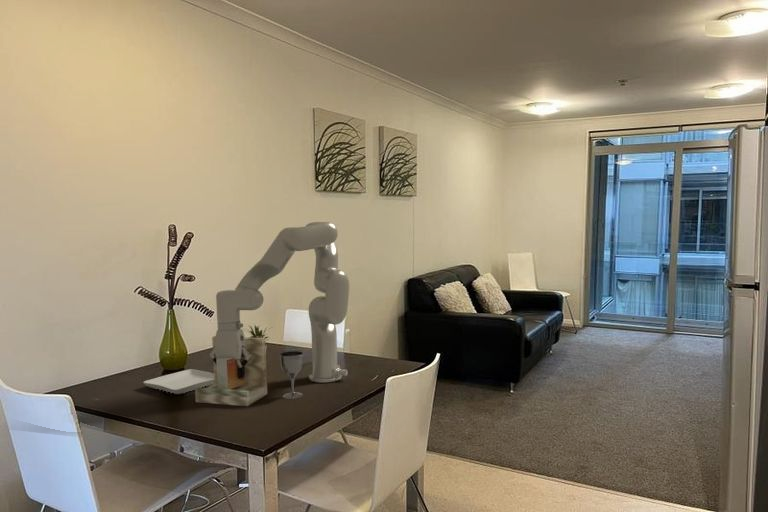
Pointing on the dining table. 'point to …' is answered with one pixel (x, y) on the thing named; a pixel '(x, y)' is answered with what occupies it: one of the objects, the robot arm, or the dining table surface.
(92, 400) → the dining table surface
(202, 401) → the wavy patterned display stand
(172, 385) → the salad plate
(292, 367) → the wine glass
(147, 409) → the dining table surface
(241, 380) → the small box
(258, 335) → the house plant
